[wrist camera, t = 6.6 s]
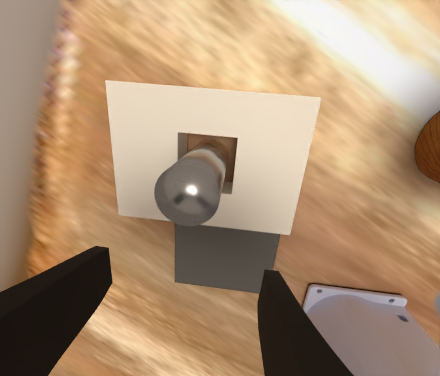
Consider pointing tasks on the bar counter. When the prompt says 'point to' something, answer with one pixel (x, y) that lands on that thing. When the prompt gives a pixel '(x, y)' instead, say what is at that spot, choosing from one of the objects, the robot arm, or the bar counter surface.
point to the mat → (223, 256)
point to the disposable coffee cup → (429, 149)
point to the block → (218, 126)
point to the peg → (193, 185)
